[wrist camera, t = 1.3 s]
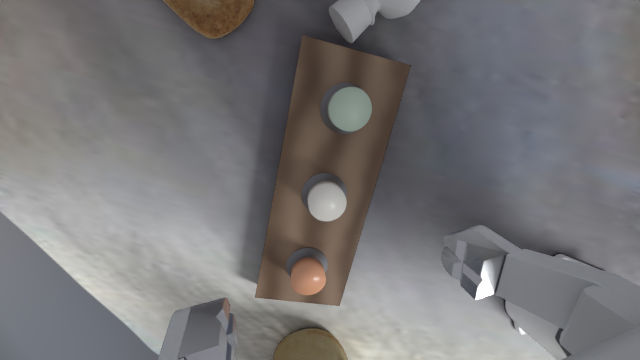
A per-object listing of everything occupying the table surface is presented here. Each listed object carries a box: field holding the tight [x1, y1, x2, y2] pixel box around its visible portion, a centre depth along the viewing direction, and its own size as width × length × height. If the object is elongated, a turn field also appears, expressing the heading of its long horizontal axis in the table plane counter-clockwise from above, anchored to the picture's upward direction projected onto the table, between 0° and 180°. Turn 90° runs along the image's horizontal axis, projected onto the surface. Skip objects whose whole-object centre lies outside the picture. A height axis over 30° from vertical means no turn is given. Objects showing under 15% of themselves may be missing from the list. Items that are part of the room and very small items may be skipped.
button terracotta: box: [291, 257, 326, 295], centre depth 36 cm, size 5×5×2 cm
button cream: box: [307, 181, 347, 221], centre depth 33 cm, size 5×5×2 cm
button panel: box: [255, 35, 411, 306], centre depth 37 cm, size 14×38×3 cm, turn 167°
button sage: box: [327, 87, 372, 131], centre depth 30 cm, size 5×5×2 cm
